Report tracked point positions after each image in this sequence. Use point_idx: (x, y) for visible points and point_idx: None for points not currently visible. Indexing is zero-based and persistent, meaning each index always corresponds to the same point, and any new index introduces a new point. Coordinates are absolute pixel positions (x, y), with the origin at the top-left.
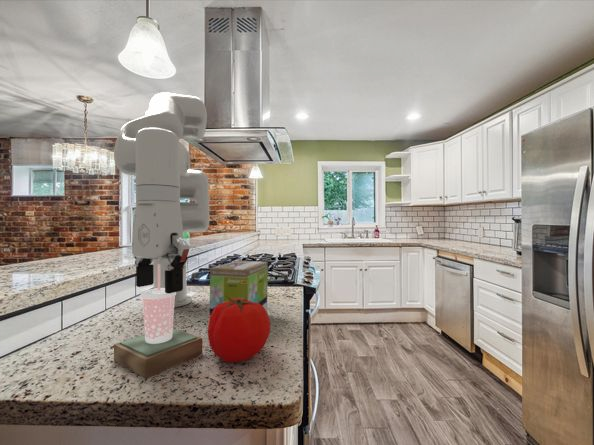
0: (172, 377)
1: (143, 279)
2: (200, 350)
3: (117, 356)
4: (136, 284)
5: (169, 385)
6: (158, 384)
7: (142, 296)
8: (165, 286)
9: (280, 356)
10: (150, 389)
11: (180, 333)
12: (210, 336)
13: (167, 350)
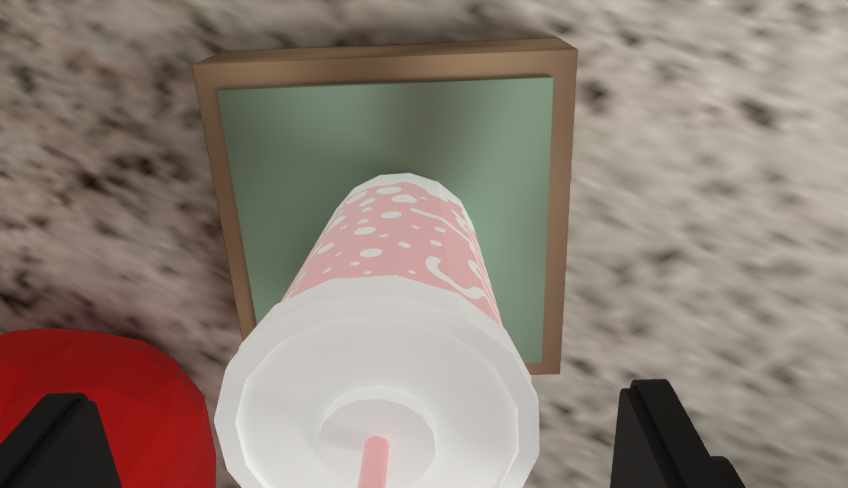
0: (144, 133)
1: (638, 480)
2: None
3: (520, 44)
4: (662, 387)
5: (81, 86)
6: (124, 60)
7: (386, 286)
8: (30, 432)
9: None
10: (104, 14)
11: None
12: (73, 369)
13: (224, 195)
